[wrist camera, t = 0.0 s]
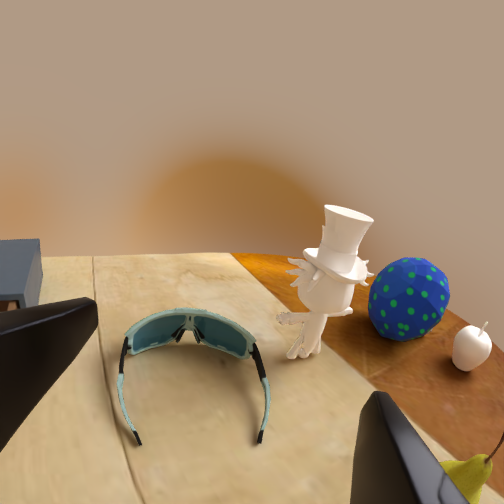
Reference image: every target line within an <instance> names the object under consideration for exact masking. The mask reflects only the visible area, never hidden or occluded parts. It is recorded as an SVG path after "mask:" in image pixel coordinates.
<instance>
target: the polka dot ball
mask: <svg viewBox="0 0 504 504" xmlns="http://www.w3.org/2000/svg"><path fill="white" fill-rule="evenodd" d="M449 298H450V293H449V286H448V280H447V277H446V276H445V275H444V273H443V272H442V271H441V270H439V269H438V268H437V267H436V266H434V265H433V264H432V263H430V262H429V261H427V260H426V259H422V258H402V259H400V260H397V261H395V262H393V263H390V264H389V265H388V266H387V267H385V268H384V269H383V270H382V271H381V272H380V273H379V274H378V275H377V277H376V279H375V280H374V282H373V284H372V286H371V288H370V293H369V303H368V312H369V317H370V319H371V321H372V323H373V325H374V326H375V328H376V329H377V331H378V332H379V334H380V336H382V337H386V338H389V339H393V340H397V341H403V342H405V341H408V340H412V339H415V338H418V337H422V336H424V335H426V334H429V333H430V332H431V331H432V329H433V327H434V326H436V325H437V324H438V323H439V322H440V321H441V318H442V316H443V314H444V312H445V309H446V307H447V305H448V302H449Z"/></svg>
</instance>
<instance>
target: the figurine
mask: <svg viewBox="0 0 504 504" xmlns="http://www.w3.org/2000/svg"><path fill="white" fill-rule="evenodd" d="M324 209H325V218H326V226H322V227H323V237H322V240H321V242H320V246H319V248H307V249H305V250H304V251H303V255H304V257H305V258H306V259H307V260H308V261H305V260H303V259H290V258H288V261H289V262H290V263H292V264H295V265H299V267H300V268H302V269H293V270H286V273H288V274H291V275H299V277H298V278H297V279H296V280H295V281H294V282H293V283H292V284H290V286H292V287H295V286H298V296H299V299H300V300H301V301H302V303H303V304H304V305H305V306H306V307H307V308H308V309H310V310H311V311H310V312H308V313H290V312H287V313H284V312H281V314H280V315H277V316H276V319H277V320H278V322H279V323H280V324H282V325H285V324H289V325H291V324H295V323H299V322H303V321H304V323H303V325H302V329H301V332H300V335H299V337H298V338H297V340H296V341H295V342H294V344H293V345H292V347H291V348H290V349H289V351H288V352H287V353H286V357H287V358H289V359H295V358H296V357H297V355H299V357H300V358H307V357H308V356H309V353H311V352H312V353H317V354H318V353H319V352H320V348H321V334H322V332H323V330H324V327H325V324H326V321H327V317H334V316H345V315H347V314H352V313H353V310H352V308H351V307H349V305H350V303H351V300H352V296H353V292H354V285H355V284H358V283H360V284H362V285H363V286H368V285H369V284H367V283H365V279H366V277H371V276H373V275H374V274H372V273H369V272H368V271H367V267H366V264H367V263H368V262H369V260H366V261H362V260H361V259H360V258H359V257H357V253H358V251H357V250H358V247H359V243H360V241H361V239H362V238H363V236H364V234H365V232H366V231H367V229H368V228H369V227H370V226H371V224H372V223H373V222H374V220H373V219H372V218H370V217H369V216H367V215H364V214H362V213H360V212H357V211H354V210H351V209H348V208H343V207H339V206H334V205H325V206H324ZM303 342H304V345H303V348H301V349H300V346H301V344H302V343H303ZM299 349H300V350H299Z"/></svg>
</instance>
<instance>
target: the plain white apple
mask: <svg viewBox="0 0 504 504" xmlns="http://www.w3.org/2000/svg"><path fill="white" fill-rule="evenodd" d="M487 324H488V322H486V323H485V324H484V325H483V327H482V329H479V328H476V327H474V326H467V327H465V328H463V329H462V330H460V331H459V332H458V333H457V335H456V336H455V339H454V343H453V352H452V361H453V363H454V365H455V366H456V367H457V368H458V369H460V370H463V371H471V370H473V369H474V368H476V367H477V366H479V365H480V364H482V363H483V362H484V361H485V360H486V359H487V358H488V356H489V354H490V352H491V346H492V343H491V340H490V338H489V336H488V334H487V333H486V332H484V331H483V330H484V328H485V326H486V325H487Z"/></svg>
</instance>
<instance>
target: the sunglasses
mask: <svg viewBox="0 0 504 504" xmlns="http://www.w3.org/2000/svg"><path fill="white" fill-rule="evenodd" d="M185 330H188V331H193V333H194V336H195V339H196V341H197V343H198V344H199V343H200V341H201V342H202V343H204V344H205V345H207V346H208V347H211V348H215V349H218V350H221V351H224V352H227V353H229V354H231V355H233V356H235V357H237V358H240V359H248V358H249V357H250V356H251V355H252V357H253V359H254V360H255V363H256V366H257V370H258V374H259V377H260V381H261V384H262V387H263V389H264V392H265V413H264V418H263V421H262V425H261V428H260V432H259V435H258V441H257V442H258V443H260V444H261V442H262V437H263V431H264V429H265V426H266V423H267V421H268V415H269V408H270V399H271V397H270V385H269V382H268V380H267V378H266V374H265V370H264V366H263V363H262V359H261V356H260V353H259V351H258V348H257V345H256V344H255V342H256V339H255V338H254V337H253V336H252V335H251V334H250V333H249V332H248V331H247V330H245V329H244V328H242V327H241V326H240V325H238V324H237V323H235V322H233V321H231V320H229V319H227V318H225V317H223V316H221V315H219V314H215V313H212V312H207V310H203V309H194V308H175V309H172V310H165V311H162V312H159V313H155V314H152V315H150V316H148V317H146V318H144V319H142V320H140V321H139V322H137V323H136V324H134V325H133V326H132V327H131V328H130V329H129V330H128V331H127V332H126V333H125V336H126V337H125V340H124V344H123V348H122V353H121V358H120V364H119V375H118V380H117V389H118V396H119V401H120V404H121V408H122V411H123V414H124V416H125V419H126V421H127V422H128V424H129V426H130V428H131V430H132V431H133V433H134V435H135V437H136V440H137V442H138V444H139V446H140V445H142V443H141V441H140V438H139V436H138V433H137V431H136V430H135V428H134V426H133V425H132V423H131V421H130V419H129V417H128V414H127V411H126V408H125V405H124V400H123V393H122V387H123V381H124V373H123V367H124V357H125V355H126V354H127V351H128V353H129V354H132V355H136V354H138V353H140V352H142V351H145V350H148V349H150V348H155V347H159V346H164V345H166V344H168V343H170V342H172V341H174V340H176V339H177V340H176V342H177V343H178V342H179V341H180V339H181V337H182V335H183V333H184V332H185Z"/></svg>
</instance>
